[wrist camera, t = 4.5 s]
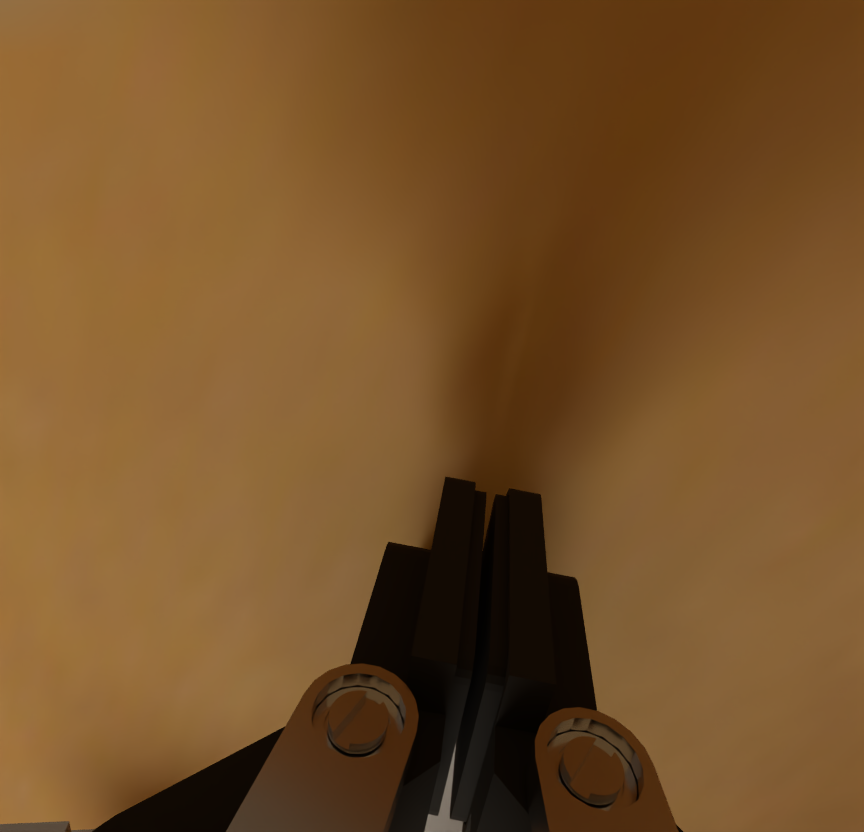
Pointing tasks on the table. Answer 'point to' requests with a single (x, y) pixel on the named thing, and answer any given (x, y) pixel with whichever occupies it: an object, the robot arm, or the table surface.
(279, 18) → the table surface
